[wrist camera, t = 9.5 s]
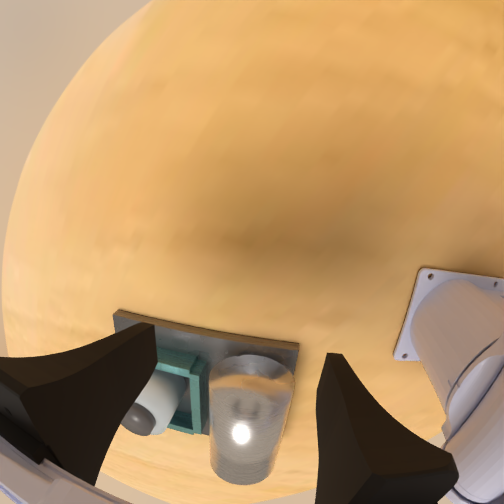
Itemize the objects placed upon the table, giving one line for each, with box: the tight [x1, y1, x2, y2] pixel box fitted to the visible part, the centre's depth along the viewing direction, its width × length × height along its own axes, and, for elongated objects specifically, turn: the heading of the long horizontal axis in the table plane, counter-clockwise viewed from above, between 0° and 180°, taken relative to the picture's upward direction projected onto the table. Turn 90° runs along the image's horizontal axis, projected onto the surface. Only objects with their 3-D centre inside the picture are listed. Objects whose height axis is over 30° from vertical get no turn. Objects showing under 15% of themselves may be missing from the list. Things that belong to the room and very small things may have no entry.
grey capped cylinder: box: [121, 369, 186, 436], centre depth 22 cm, size 5×5×6 cm
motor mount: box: [113, 310, 299, 485], centre depth 22 cm, size 16×13×7 cm
